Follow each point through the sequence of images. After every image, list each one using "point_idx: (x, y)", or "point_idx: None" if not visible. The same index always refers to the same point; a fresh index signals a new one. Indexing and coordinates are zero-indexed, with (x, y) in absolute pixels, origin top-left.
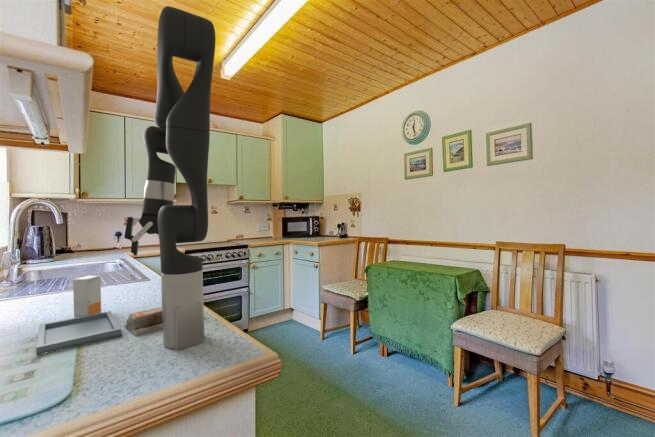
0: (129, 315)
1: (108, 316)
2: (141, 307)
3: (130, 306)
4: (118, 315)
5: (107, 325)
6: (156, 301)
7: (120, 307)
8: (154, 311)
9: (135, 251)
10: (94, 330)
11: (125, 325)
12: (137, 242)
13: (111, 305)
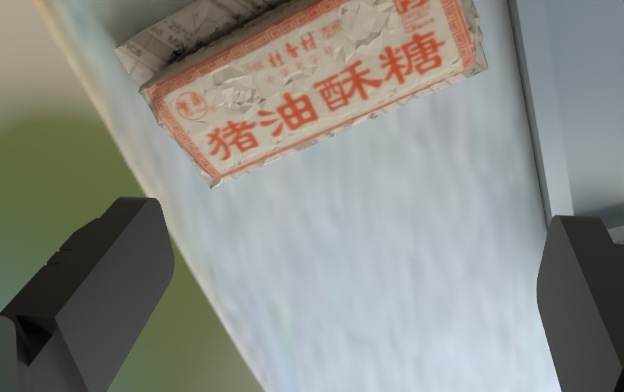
0: (474, 32)
1: (567, 177)
2: (430, 315)
3: (476, 345)
4: (518, 247)
5: (563, 91)
6: (376, 368)
7: (514, 348)
8: (342, 27)
9: (587, 243)
10: (621, 35)
11: (482, 49)
12: (620, 362)
13: (549, 385)
